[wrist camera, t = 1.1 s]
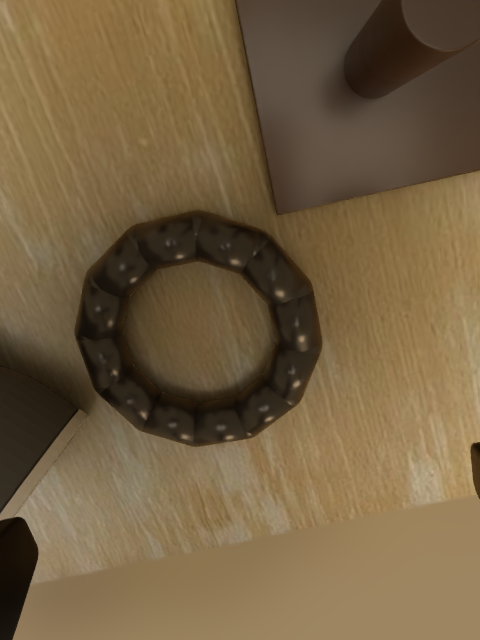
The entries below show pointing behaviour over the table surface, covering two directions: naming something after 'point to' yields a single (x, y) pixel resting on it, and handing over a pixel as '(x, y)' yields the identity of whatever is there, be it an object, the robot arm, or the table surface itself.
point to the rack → (363, 94)
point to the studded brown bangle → (224, 252)
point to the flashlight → (30, 436)
